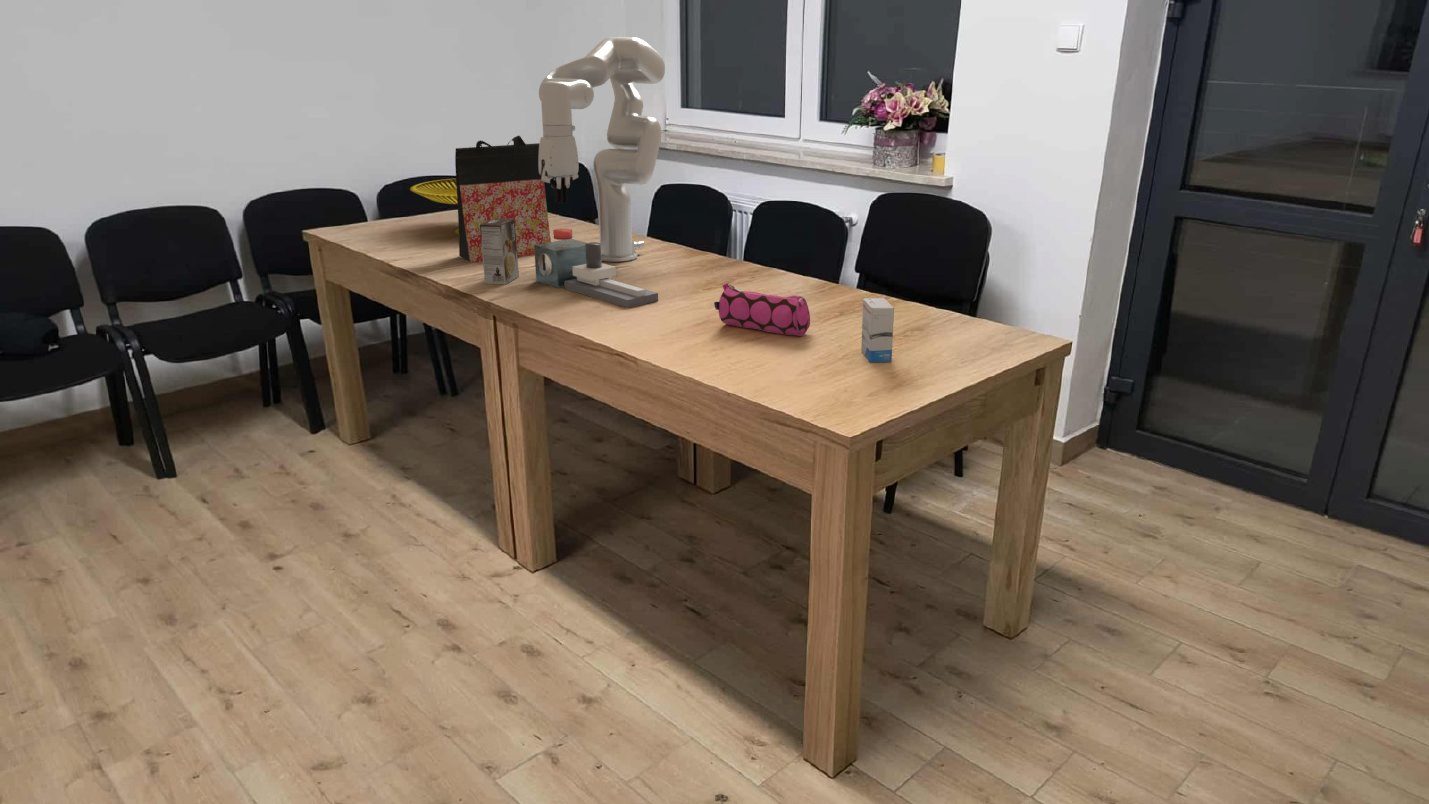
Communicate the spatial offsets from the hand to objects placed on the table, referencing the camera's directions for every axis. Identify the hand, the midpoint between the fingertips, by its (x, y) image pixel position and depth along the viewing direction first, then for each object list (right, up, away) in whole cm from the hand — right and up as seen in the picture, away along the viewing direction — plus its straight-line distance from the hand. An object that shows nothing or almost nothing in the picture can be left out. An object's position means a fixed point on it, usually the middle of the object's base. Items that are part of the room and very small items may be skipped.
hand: (561, 202), depth 259 cm
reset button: (0, -9, +3) cm, 10 cm away
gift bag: (-21, -8, +38) cm, 44 cm away
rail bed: (+14, -25, -5) cm, 29 cm away
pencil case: (+52, -36, -33) cm, 71 cm away
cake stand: (-39, +5, +70) cm, 81 cm away
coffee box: (-17, -20, +8) cm, 27 cm away
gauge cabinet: (0, -20, +8) cm, 21 cm away
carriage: (+9, -21, -2) cm, 23 cm away
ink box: (+75, -43, -51) cm, 100 cm away
